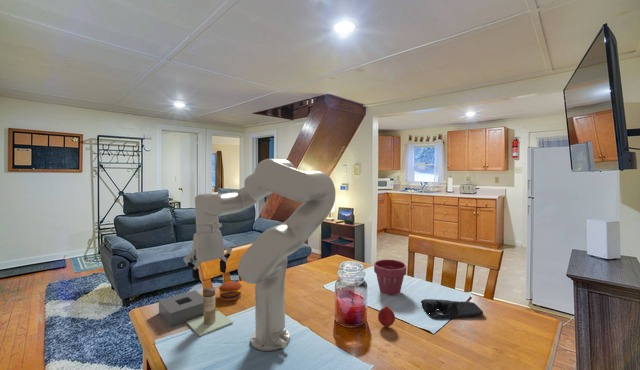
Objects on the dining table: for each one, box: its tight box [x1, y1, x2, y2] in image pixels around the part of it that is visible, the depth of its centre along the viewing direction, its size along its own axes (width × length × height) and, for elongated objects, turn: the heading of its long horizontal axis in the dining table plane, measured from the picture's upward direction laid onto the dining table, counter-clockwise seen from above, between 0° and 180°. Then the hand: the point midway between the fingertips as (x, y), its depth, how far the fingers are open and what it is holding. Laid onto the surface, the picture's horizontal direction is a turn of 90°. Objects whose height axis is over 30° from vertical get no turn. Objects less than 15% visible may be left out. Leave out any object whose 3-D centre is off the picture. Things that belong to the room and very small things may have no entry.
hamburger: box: [218, 280, 243, 303], centre depth 129 cm, size 9×10×7 cm
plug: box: [202, 286, 216, 325], centre depth 107 cm, size 4×4×12 cm
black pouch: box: [420, 298, 484, 319], centre depth 117 cm, size 15×22×5 cm
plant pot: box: [373, 259, 407, 296], centre depth 134 cm, size 14×14×13 cm
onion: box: [377, 304, 396, 328], centre depth 104 cm, size 6×6×8 cm
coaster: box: [185, 310, 234, 337], centre depth 107 cm, size 12×12×1 cm
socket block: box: [158, 289, 204, 328], centre depth 114 cm, size 14×14×5 cm
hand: (210, 275), depth 106 cm, fingers open, 9 cm apart
